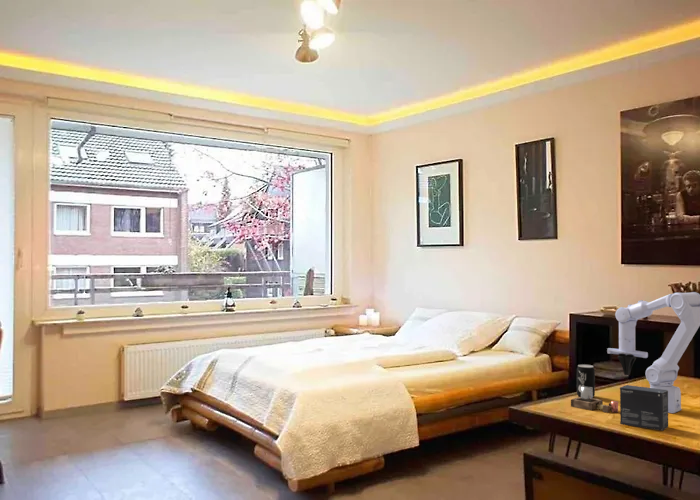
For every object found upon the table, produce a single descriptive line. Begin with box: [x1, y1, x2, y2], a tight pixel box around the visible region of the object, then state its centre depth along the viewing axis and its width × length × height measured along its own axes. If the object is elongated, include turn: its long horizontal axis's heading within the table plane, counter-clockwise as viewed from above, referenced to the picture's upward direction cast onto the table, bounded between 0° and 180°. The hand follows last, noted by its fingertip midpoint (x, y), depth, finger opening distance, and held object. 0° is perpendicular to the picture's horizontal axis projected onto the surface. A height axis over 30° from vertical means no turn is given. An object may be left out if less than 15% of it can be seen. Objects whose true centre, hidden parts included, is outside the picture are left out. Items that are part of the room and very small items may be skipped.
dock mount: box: [570, 396, 611, 414], centre depth 220 cm, size 13×8×2 cm, turn 42°
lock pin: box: [595, 400, 619, 414], centre depth 217 cm, size 9×2×4 cm, turn 42°
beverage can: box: [576, 364, 596, 398], centre depth 239 cm, size 7×7×12 cm
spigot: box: [581, 386, 594, 402], centre depth 223 cm, size 4×4×7 cm
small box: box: [619, 384, 669, 432], centre depth 197 cm, size 13×7×12 cm, turn 48°
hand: (627, 374), depth 232 cm, fingers closed
